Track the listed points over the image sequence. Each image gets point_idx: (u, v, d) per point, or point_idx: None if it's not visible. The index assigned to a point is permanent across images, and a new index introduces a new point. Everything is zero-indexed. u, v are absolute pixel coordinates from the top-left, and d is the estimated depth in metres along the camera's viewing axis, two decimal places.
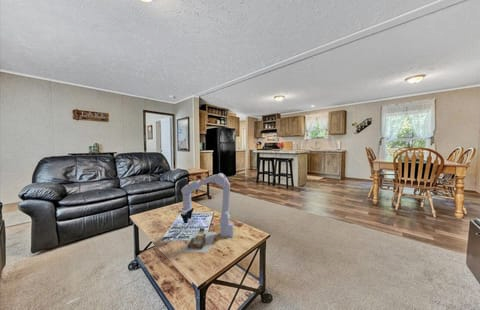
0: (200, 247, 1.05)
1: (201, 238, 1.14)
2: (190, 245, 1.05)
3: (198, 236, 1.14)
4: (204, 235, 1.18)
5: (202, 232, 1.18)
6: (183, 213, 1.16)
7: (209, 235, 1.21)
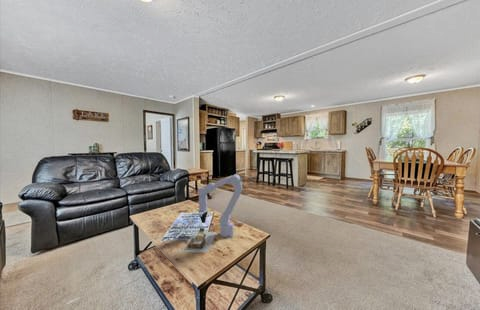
0: (200, 247, 1.05)
1: (201, 238, 1.14)
2: (190, 245, 1.05)
3: (198, 236, 1.14)
4: (204, 235, 1.18)
5: (202, 232, 1.18)
6: (200, 215, 1.16)
7: (209, 235, 1.21)
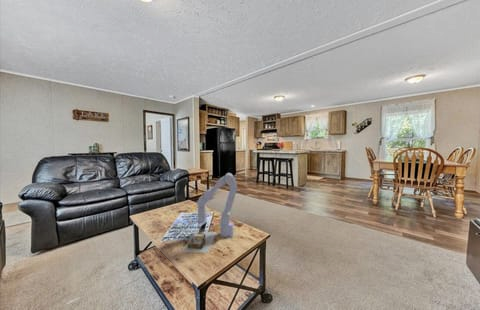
0: (200, 247, 1.05)
1: (201, 239, 1.13)
2: (190, 245, 1.05)
3: (198, 237, 1.13)
4: (204, 236, 1.17)
5: (202, 233, 1.17)
6: (199, 227, 1.13)
7: (209, 235, 1.21)
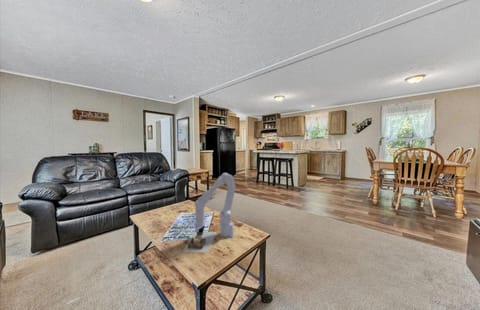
0: (200, 247, 1.05)
1: (198, 243, 1.08)
2: (190, 245, 1.05)
3: (195, 241, 1.08)
4: (201, 240, 1.12)
5: (199, 237, 1.12)
6: (196, 230, 1.08)
7: (209, 235, 1.21)
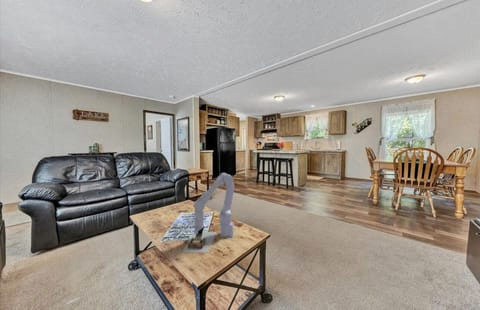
0: (200, 247, 1.05)
1: None
2: (190, 245, 1.05)
3: None
4: (201, 241, 1.10)
5: (198, 238, 1.10)
6: (195, 232, 1.06)
7: (209, 235, 1.21)
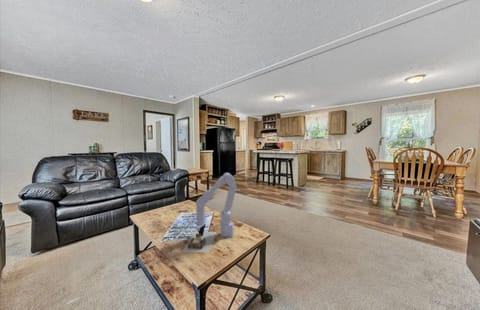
0: (200, 247, 1.05)
1: None
2: (190, 245, 1.05)
3: None
4: (201, 241, 1.10)
5: (199, 238, 1.10)
6: (197, 229, 1.10)
7: (209, 235, 1.21)
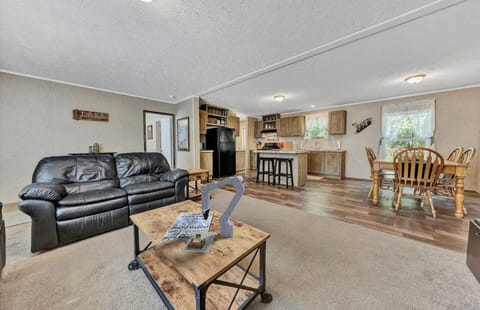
0: (200, 247, 1.05)
1: None
2: (190, 245, 1.05)
3: None
4: (201, 241, 1.10)
5: (199, 238, 1.10)
6: (203, 212, 1.17)
7: (209, 235, 1.21)
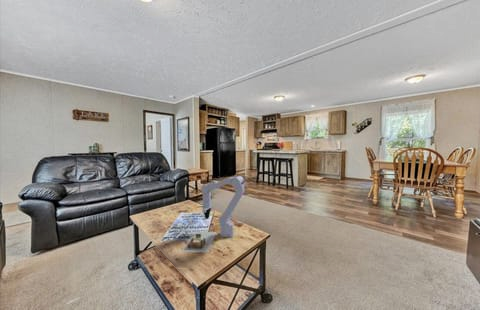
0: (200, 247, 1.05)
1: None
2: (190, 245, 1.05)
3: None
4: (201, 241, 1.10)
5: (199, 238, 1.10)
6: (204, 211, 1.19)
7: (209, 235, 1.21)
